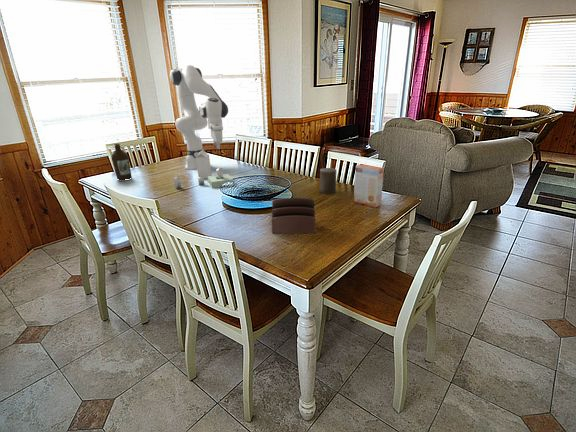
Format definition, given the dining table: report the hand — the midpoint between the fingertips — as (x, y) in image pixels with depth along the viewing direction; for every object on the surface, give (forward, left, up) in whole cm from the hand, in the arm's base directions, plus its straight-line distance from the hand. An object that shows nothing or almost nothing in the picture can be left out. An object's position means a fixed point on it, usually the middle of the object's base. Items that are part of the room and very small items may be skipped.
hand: (217, 147), depth 221 cm
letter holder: (+89, +16, -24) cm, 94 cm away
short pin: (+1, -13, -23) cm, 27 cm away
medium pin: (+1, -28, -23) cm, 36 cm away
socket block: (+4, -1, -23) cm, 24 cm away
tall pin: (+4, -1, -23) cm, 24 cm away
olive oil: (-36, -61, -24) cm, 74 cm away
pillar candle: (+49, +55, -24) cm, 78 cm away
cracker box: (+76, +65, -24) cm, 103 cm away
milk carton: (-16, -8, -24) cm, 29 cm away
